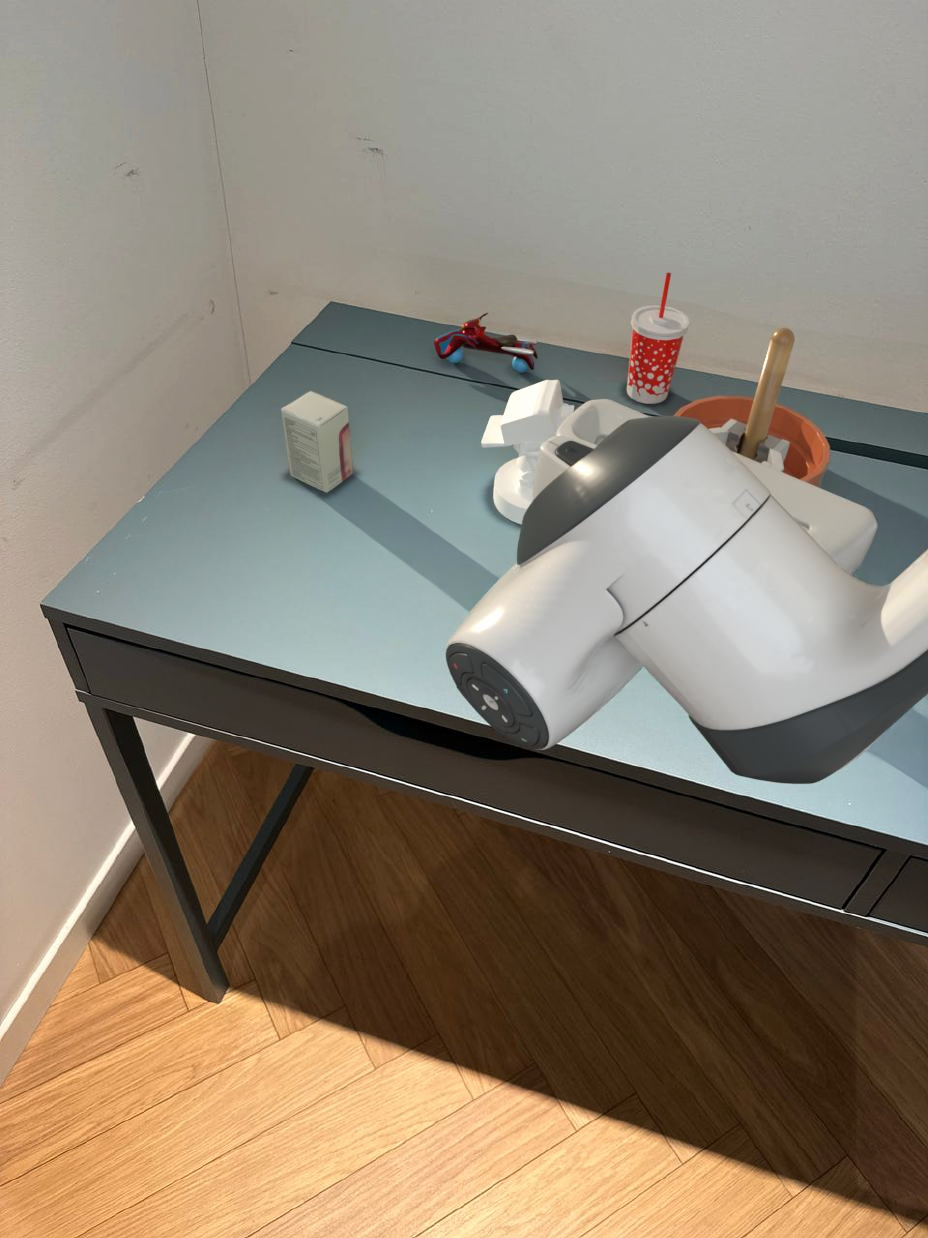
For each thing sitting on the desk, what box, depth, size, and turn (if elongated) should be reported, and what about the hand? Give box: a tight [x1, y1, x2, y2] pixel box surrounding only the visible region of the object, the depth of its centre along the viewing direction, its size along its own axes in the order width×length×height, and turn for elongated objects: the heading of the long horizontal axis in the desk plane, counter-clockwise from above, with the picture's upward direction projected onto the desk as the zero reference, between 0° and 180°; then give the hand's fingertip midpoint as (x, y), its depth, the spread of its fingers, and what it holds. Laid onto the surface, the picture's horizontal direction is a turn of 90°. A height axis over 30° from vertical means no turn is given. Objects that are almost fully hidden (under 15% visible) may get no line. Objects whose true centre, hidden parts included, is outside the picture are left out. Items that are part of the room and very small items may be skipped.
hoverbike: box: [433, 312, 539, 374], centre depth 109 cm, size 5×12×6 cm, turn 77°
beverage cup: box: [626, 272, 690, 405], centre depth 103 cm, size 6×6×14 cm
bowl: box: [673, 395, 831, 488], centre depth 94 cm, size 15×15×6 cm
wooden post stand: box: [739, 327, 796, 460], centre depth 64 cm, size 5×5×18 cm
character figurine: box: [480, 379, 575, 526], centre depth 90 cm, size 9×10×12 cm
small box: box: [280, 390, 354, 494], centre depth 93 cm, size 5×4×8 cm
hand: (758, 438), depth 64 cm, fingers closed on wooden post stand
